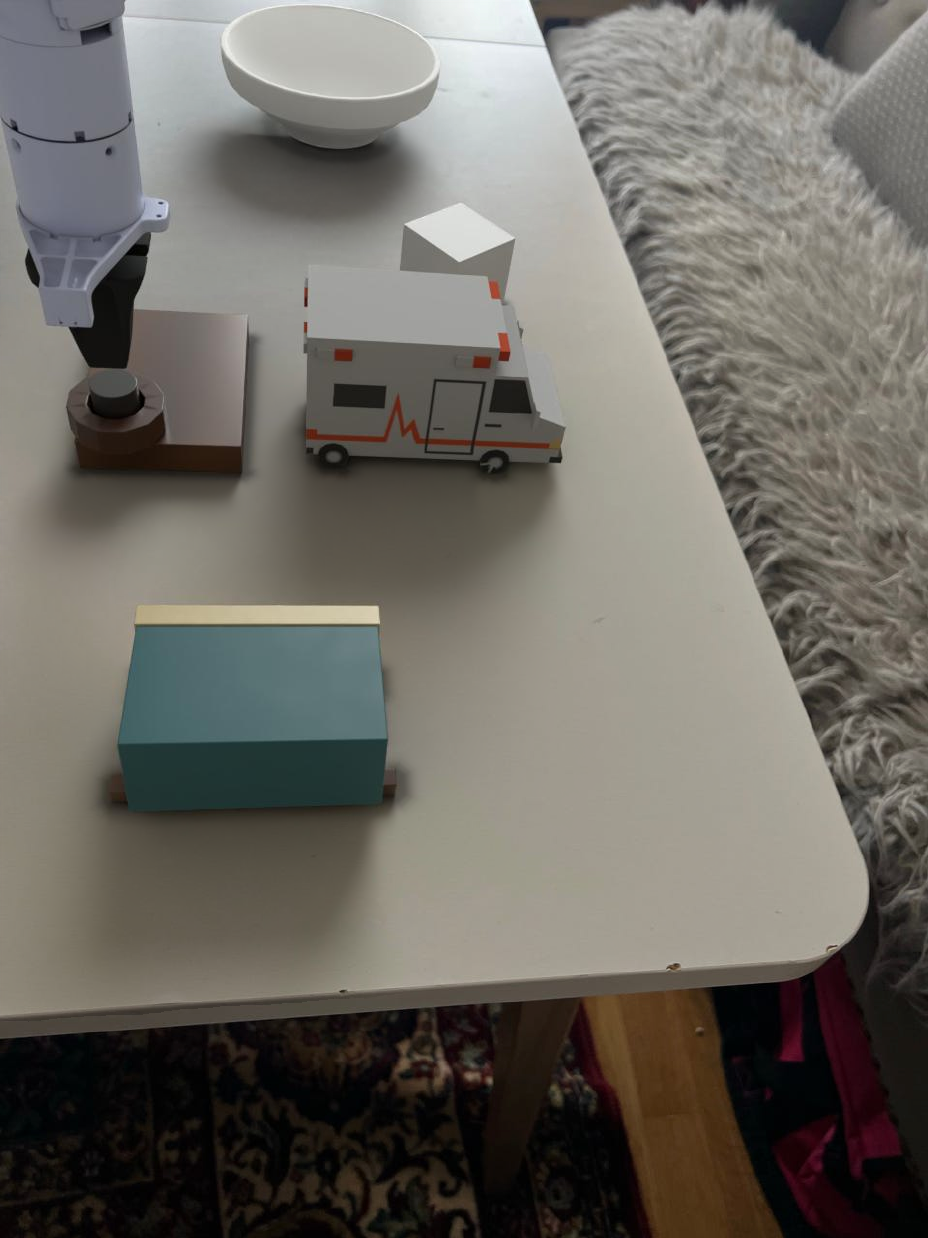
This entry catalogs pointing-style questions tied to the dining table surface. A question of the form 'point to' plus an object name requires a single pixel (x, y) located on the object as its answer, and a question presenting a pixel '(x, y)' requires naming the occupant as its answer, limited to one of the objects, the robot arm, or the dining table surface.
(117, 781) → the strip
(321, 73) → the bowl
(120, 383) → the button
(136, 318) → the control box
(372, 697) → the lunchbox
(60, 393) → the dining table surface
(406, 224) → the white cube
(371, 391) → the toy vehicle
